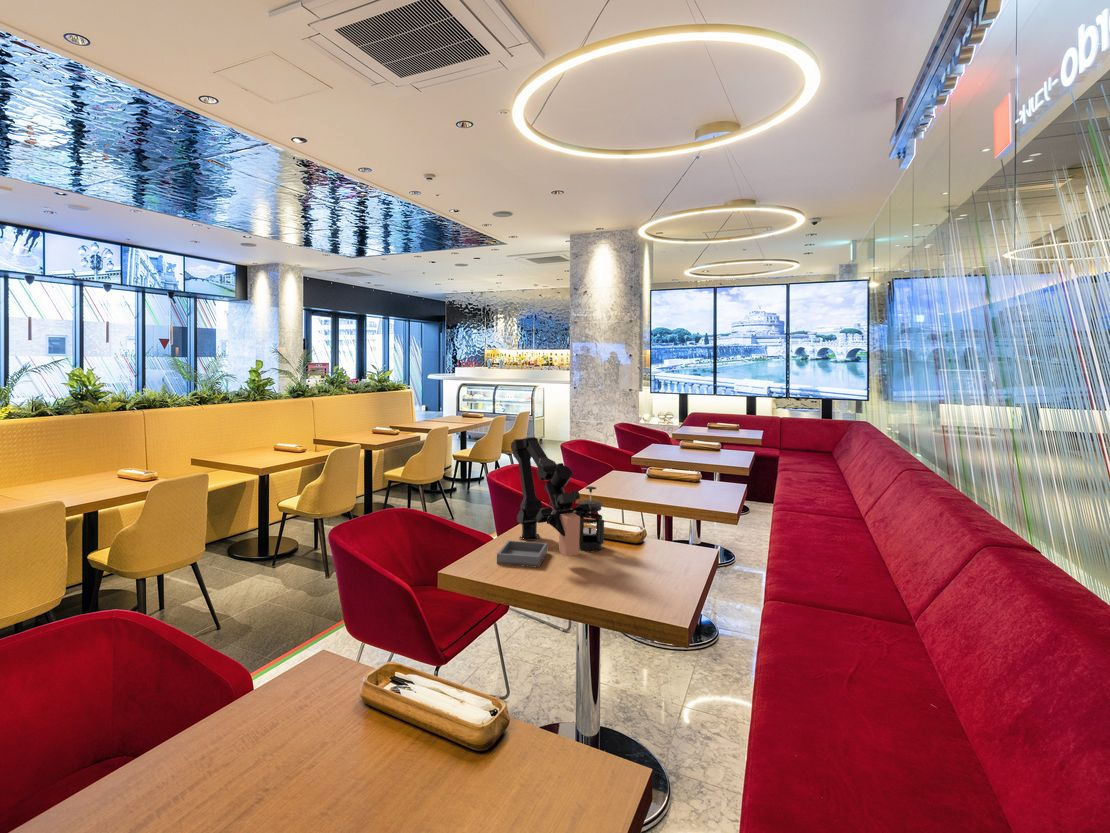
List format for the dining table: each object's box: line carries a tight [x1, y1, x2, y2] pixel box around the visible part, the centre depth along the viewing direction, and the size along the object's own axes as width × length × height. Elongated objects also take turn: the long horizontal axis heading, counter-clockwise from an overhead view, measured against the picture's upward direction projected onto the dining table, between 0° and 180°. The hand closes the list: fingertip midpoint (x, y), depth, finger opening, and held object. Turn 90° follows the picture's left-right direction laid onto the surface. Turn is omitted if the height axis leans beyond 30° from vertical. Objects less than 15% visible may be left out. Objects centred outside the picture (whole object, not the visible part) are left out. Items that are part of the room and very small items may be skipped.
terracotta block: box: [558, 513, 580, 557], centre depth 190 cm, size 5×5×13 cm
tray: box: [496, 540, 548, 568], centre depth 198 cm, size 15×15×4 cm
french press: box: [577, 485, 605, 553], centre depth 208 cm, size 12×9×23 cm
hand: (571, 534), depth 189 cm, fingers closed on terracotta block, 5 cm apart
